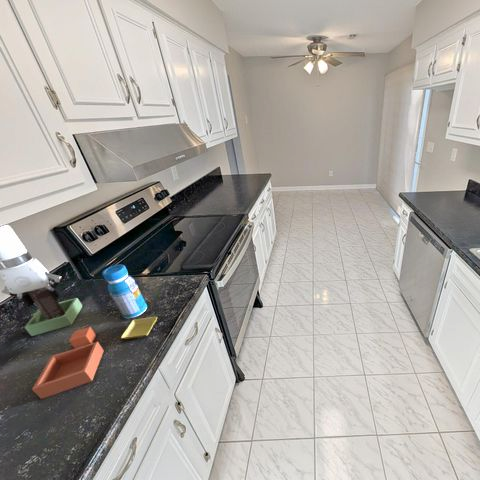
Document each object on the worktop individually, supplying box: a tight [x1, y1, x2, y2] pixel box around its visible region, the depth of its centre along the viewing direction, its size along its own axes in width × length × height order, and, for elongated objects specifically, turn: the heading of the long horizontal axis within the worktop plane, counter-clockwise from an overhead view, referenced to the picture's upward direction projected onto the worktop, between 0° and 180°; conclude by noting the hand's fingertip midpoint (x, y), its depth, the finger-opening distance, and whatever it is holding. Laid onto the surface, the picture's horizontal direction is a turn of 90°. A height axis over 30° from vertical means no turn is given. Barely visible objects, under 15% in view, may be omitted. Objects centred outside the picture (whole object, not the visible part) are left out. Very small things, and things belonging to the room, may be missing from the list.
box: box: [26, 287, 65, 319], centre depth 93 cm, size 6×4×12 cm
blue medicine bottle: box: [101, 263, 148, 319], centre depth 94 cm, size 8×8×20 cm
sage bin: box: [24, 297, 83, 337], centre depth 96 cm, size 12×12×5 cm
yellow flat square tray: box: [120, 316, 158, 340], centre depth 89 cm, size 9×9×2 cm
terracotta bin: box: [31, 341, 105, 400], centre depth 75 cm, size 12×12×5 cm
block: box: [68, 326, 97, 349], centre depth 85 cm, size 4×4×4 cm
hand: (45, 300), depth 93 cm, fingers closed on box, 6 cm apart
